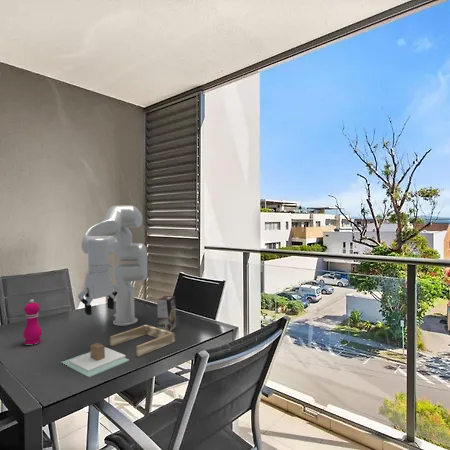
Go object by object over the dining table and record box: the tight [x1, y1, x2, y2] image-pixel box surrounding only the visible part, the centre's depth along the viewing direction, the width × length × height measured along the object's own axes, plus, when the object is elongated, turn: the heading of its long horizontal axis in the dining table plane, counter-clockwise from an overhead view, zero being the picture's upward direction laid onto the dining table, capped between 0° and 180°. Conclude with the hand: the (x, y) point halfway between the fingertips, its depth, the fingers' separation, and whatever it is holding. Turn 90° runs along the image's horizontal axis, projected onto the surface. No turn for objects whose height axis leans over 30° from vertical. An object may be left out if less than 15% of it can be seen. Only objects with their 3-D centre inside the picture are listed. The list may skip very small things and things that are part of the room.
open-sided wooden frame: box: [109, 324, 176, 358], centre depth 149 cm, size 20×20×4 cm
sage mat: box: [60, 351, 130, 378], centre depth 131 cm, size 20×17×1 cm
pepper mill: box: [22, 299, 43, 345], centre depth 151 cm, size 7×7×20 cm
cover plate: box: [69, 342, 126, 372], centre depth 131 cm, size 14×16×6 cm
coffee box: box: [156, 295, 176, 332], centre depth 167 cm, size 9×6×16 cm
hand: (99, 311), depth 133 cm, fingers open, 9 cm apart
